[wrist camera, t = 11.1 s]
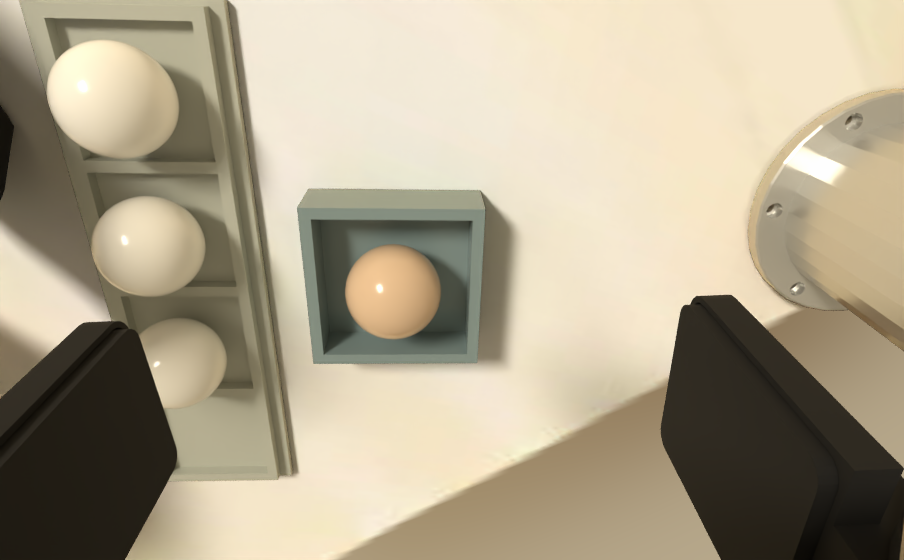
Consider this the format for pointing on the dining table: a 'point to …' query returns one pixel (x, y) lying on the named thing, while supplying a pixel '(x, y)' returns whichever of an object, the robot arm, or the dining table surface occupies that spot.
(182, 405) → the white egg
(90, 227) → the carton
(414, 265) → the brown egg
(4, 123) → the headphones
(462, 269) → the dish
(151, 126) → the white egg
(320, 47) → the dining table surface
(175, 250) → the white egg
